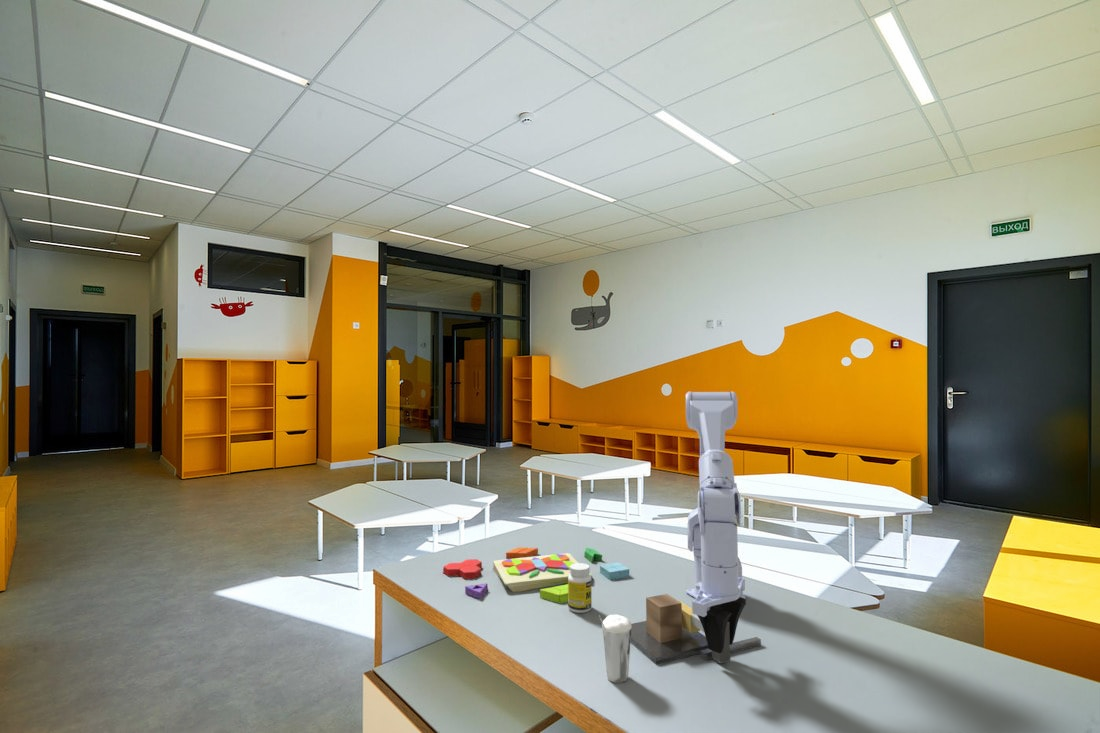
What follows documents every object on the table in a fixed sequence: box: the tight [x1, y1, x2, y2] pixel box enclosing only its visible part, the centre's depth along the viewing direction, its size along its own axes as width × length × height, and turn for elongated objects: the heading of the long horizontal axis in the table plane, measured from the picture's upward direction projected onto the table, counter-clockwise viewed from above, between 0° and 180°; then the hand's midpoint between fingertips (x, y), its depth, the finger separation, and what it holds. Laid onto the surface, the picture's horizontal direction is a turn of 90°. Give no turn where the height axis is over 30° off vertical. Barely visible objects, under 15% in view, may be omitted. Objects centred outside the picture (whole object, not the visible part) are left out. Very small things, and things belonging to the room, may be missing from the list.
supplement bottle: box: [567, 562, 593, 614], centre depth 108 cm, size 5×5×8 cm
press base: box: [630, 620, 762, 665], centre depth 95 cm, size 20×14×1 cm
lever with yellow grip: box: [678, 600, 731, 664], centre depth 93 cm, size 2×14×6 cm, turn 23°
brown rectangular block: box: [645, 593, 683, 643], centre depth 95 cm, size 6×4×6 cm
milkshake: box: [598, 614, 633, 684], centre depth 83 cm, size 4×5×10 cm
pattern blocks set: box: [442, 546, 630, 604], centre depth 127 cm, size 38×34×3 cm
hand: (720, 646), depth 87 cm, fingers open, 3 cm apart
